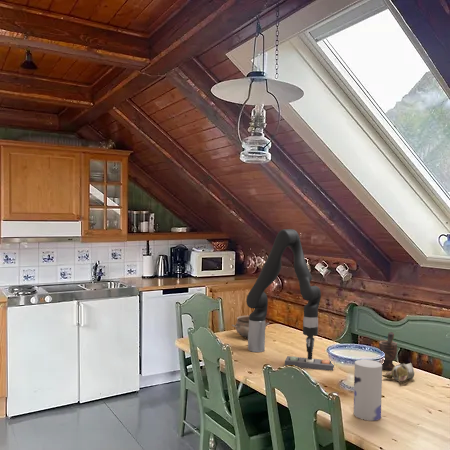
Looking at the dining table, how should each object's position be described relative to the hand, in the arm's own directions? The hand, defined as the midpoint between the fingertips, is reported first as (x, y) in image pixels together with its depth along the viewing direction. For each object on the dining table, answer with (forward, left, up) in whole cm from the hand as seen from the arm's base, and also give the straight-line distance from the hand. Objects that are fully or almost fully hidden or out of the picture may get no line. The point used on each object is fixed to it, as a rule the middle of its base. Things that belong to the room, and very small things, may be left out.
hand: (309, 359), depth 240 cm
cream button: (0, 0, -3) cm, 3 cm away
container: (+59, -20, -4) cm, 62 cm away
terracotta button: (+5, +6, -3) cm, 8 cm away
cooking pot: (-62, +3, -4) cm, 62 cm away
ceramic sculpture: (+36, +25, -4) cm, 44 cm away
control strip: (0, 0, -3) cm, 3 cm away
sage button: (-6, -6, -3) cm, 9 cm away
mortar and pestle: (+22, +33, -4) cm, 40 cm away
